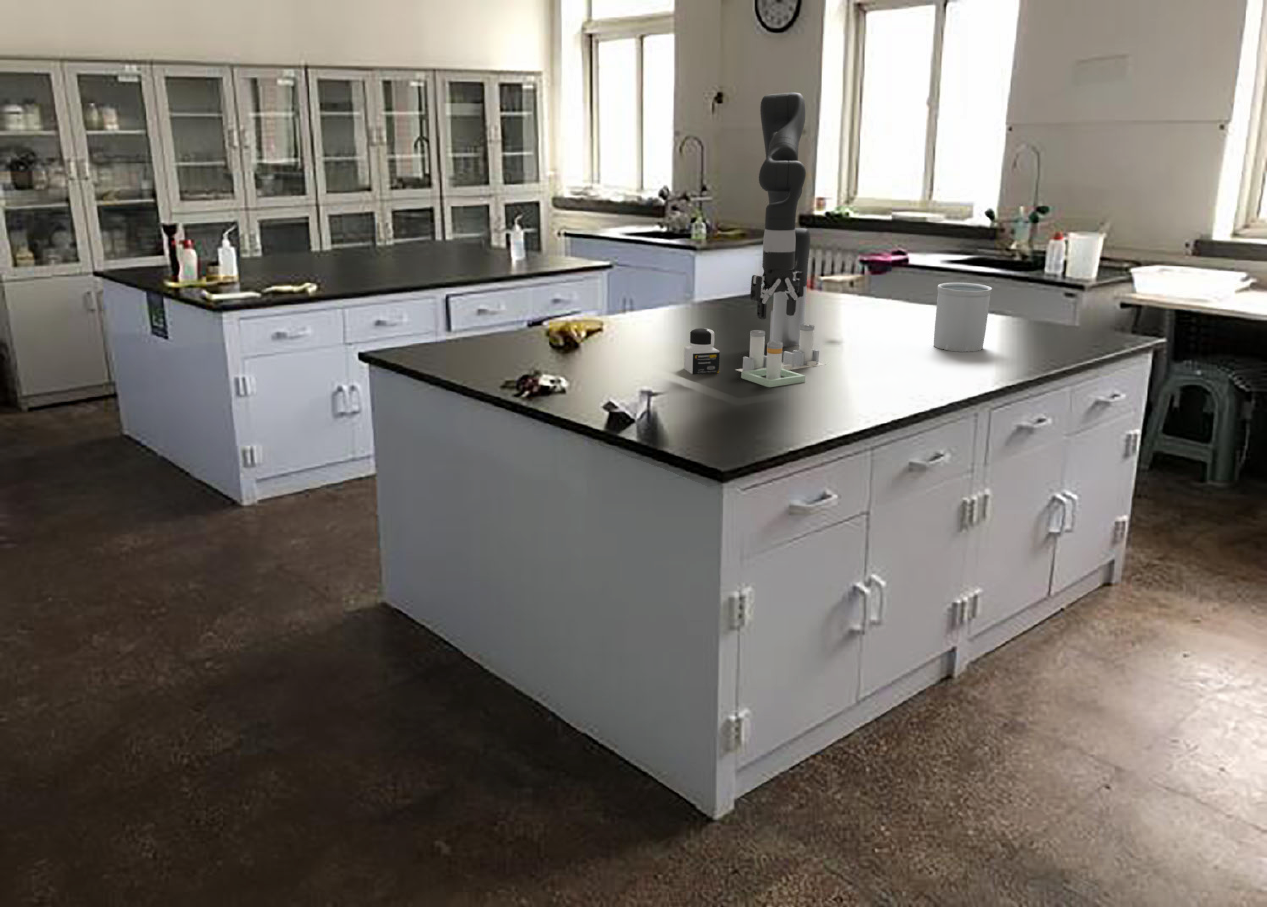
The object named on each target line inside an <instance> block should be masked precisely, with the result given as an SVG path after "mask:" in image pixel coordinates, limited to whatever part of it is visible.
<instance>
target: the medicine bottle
mask: <svg viewBox="0 0 1267 907" xmlns="http://www.w3.org/2000/svg"><path fill="white" fill-rule="evenodd" d="M714 346H715V332H714V330H712V329H710V328H701V327H700V328H694V329H692V330H691V331H690V333H689V345H688V346H685V347H684V351H683V352H684V353H683V357H684V358H683V359H684V360H683V366H684V367H683V369H684V370H685V371H687V372H688V373H690V374H691V375H703V374H704V375H705V374H706V375H707V374H708V375H709V374H719V373H720V354H721V353H720V350H719V349H716V348H715V347H714Z"/></svg>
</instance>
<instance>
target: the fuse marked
mask: <svg viewBox="0 0 1267 907" xmlns="http://www.w3.org/2000/svg"><path fill="white" fill-rule="evenodd" d="M766 345H767V346H766V356H767V365H766V376H765V378H767V379H770V380H771V379H778V378H782V376H781V363H783V362H782V361H783V360H782V359H783V343H782V342H776V341H772V342H770V341H768V342H767V344H766Z"/></svg>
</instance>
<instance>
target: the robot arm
mask: <svg viewBox="0 0 1267 907" xmlns="http://www.w3.org/2000/svg"><path fill="white" fill-rule="evenodd" d="M759 108H760V110H759V111H760V113H759V115H760V121H761V130H762V136H763V142H764V149H765V150H764V151H765V160H764V161H763V163H761V167H760V169H759V173H758V183H759V186H760V187H761V189H762V190H763V191H765V192H767V197H768V204H767V206H766V207H765V216H764V218H765V219H764V233H763V239H762V243H763V244H762V263H761V264H762V265H761V267H762V269H763V274H762V275H757V274H756V275H755V274H752V276H751V282H750V293H749V295H750V296H749V300H750V301H752V302H753V301H754V302H755V303H756V316H757V317H758V319H759V320H766V319H767V307H768V306H767V302H768V300H769V298H770V297H772V296H773V303H772V304H773V305H772V306H773V307H772V309H771V311H770V324H769V325H770V326H769V327H770V328H769V342H772V341H776V342H782V343H783V347H784V348H785V347H792V346H793V347H794V346H799V340H800V325H803V324H806V307H807V306H806V305H807V304H806V303H807V286H808V270H809V258H810V251H811V250H810V249H811V233H810V231H809V229H807V228H804V227H802V228H801V227H796V220H797V219H796V215H797V208H798V202H799V201H800V198H801V196H802V193H803V187H804V184H805V180H806V175H807V172H806V168H805V166H804V163H802V162H801V161H799V145H800V144H799V143H800V140H801V137H802V135H803V130H804V127H805V123H806V122H805V121H806V104H805V99H804V96H803V94H801V93H800V92H783V93H781V92H780V93H772V94H771V93H770V94H766V95H764V96H763V97H762V98H761V102H760V106H759ZM795 262H796V264H795ZM783 347H782V348H783Z"/></svg>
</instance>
